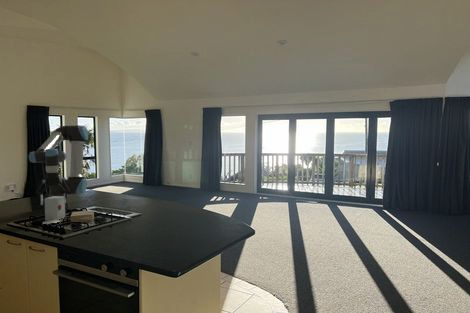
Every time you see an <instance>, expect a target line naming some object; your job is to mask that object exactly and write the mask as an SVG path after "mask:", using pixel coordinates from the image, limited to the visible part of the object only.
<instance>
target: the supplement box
mask: <svg viewBox="0 0 470 313" xmlns="http://www.w3.org/2000/svg"><path fill="white" fill-rule="evenodd" d="M64 217H65V218H66V209H65V204H64V196H52V197H45V198H44V220H45V221H48V220H59V219H60V220H62V219H61V218H63V219H65V218H64Z"/></svg>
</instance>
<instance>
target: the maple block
mask: <svg viewBox="0 0 470 313" xmlns="http://www.w3.org/2000/svg"><path fill="white" fill-rule="evenodd" d="M94 214H95V211H94V210H81V211H80V210H79V211H72V212H71V215H70V223H71V222H81V223H90V222H94V219H93V218H95V215H94Z"/></svg>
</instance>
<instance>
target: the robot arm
mask: <svg viewBox="0 0 470 313" xmlns="http://www.w3.org/2000/svg"><path fill="white" fill-rule="evenodd" d="M88 140H89V131H88V129H87V127H86V126H85V125H80V124H79V125H63V126H59V127H57V128H55V129H54V130H53V131H52V132H51V133H50V135H49V137H48V138H47V139H46V140H45V141H44V142H43V143H42V144H41V146H40V147H38V149H37V150H36V151H30V152H29V154H28V160H29V162H31V163H35V164H36V163H45V172H46V173H45V179H41V180H40V182H39V185H38V187H37V189H36V191H35V195H38V200H39V201H40V206H43V205H44V196H43V195H44V194H43V193H44V192H45V191H46V190H47V188H48V195H49V197H52V196H64V204H65V210H66V209H69V208H70V202H69V201H68V195H83V194H84V193H86V191H87V188H88V180H87V179H86V178H85V176H84V175H83V167H84V166H83V164H84V145H85V144H86V141H88ZM63 141H68V143H69V144H70V145H71V146H70V169H69V171H70V174H69V176H67V179H66V177H60V173H59V171H60V170H59V169H60V165H59V163H63V162H65V161H66V160H67V154H66V152H64V151H62V150H59V149H58V148H56V147H57V146H58V144H60V143H63ZM45 183H46V185H45V186H44V187H43V188H42V186H43V185H44V184H45ZM40 190H41V191H40Z"/></svg>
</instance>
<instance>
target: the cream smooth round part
mask: <svg viewBox="0 0 470 313" xmlns="http://www.w3.org/2000/svg"><path fill="white" fill-rule="evenodd" d="M57 222H60V223H61V219H60V220H45V221H42V225H43V224H50V223H57Z"/></svg>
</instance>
